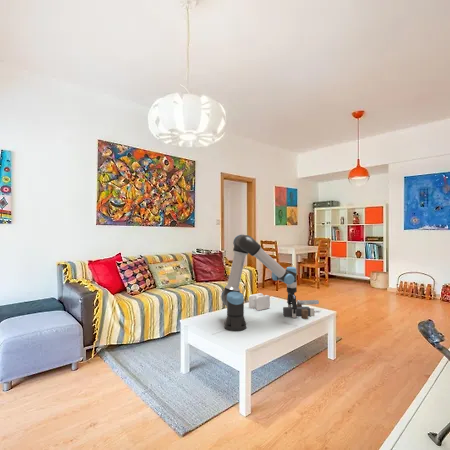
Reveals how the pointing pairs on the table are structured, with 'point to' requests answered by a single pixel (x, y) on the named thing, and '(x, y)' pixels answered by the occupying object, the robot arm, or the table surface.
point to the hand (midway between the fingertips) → (291, 315)
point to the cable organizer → (259, 301)
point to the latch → (307, 302)
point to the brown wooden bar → (303, 312)
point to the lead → (297, 311)
